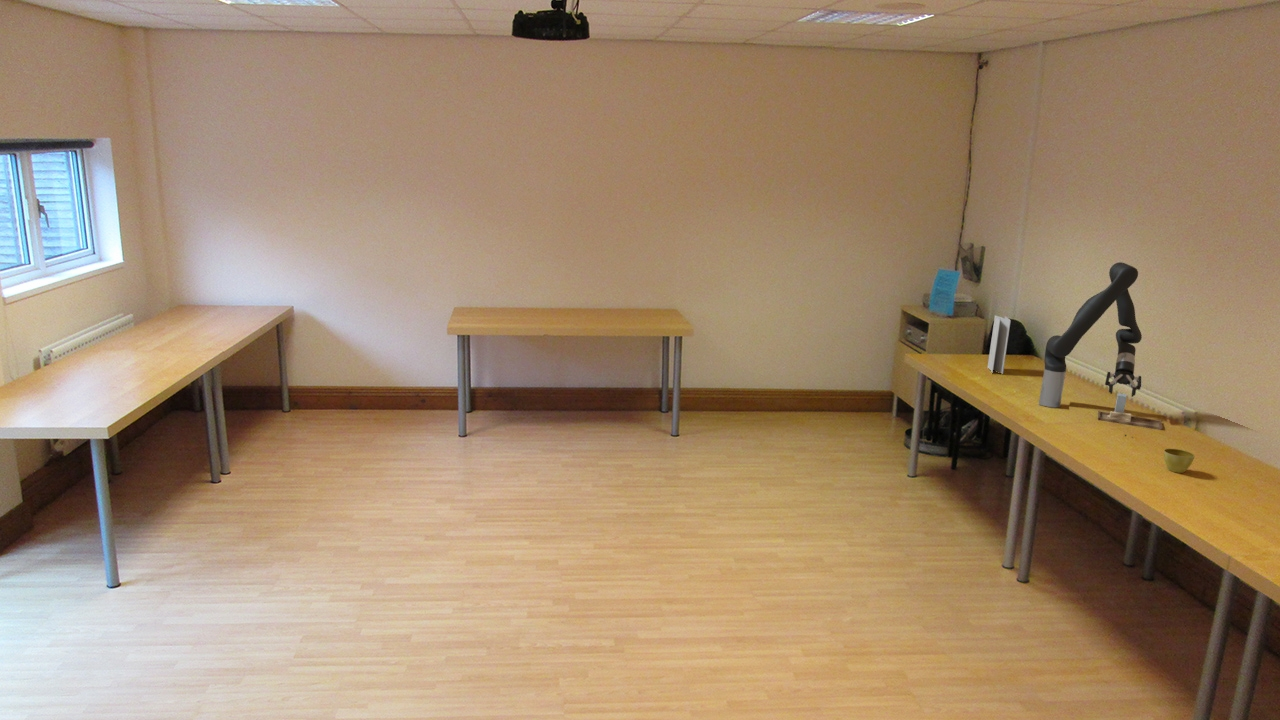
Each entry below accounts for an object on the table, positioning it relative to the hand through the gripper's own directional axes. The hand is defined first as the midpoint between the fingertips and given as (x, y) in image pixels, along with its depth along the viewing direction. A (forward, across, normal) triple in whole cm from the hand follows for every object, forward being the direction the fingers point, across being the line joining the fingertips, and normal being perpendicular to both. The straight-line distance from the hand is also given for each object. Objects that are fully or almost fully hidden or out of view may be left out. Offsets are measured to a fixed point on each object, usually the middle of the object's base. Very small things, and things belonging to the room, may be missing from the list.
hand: (1121, 394), depth 397 cm
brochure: (-39, -58, +56) cm, 90 cm away
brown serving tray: (+13, +4, +3) cm, 14 cm away
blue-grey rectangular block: (+11, 0, +4) cm, 11 cm away
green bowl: (+57, +18, -40) cm, 71 cm away
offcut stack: (+15, 0, -1) cm, 15 cm away
